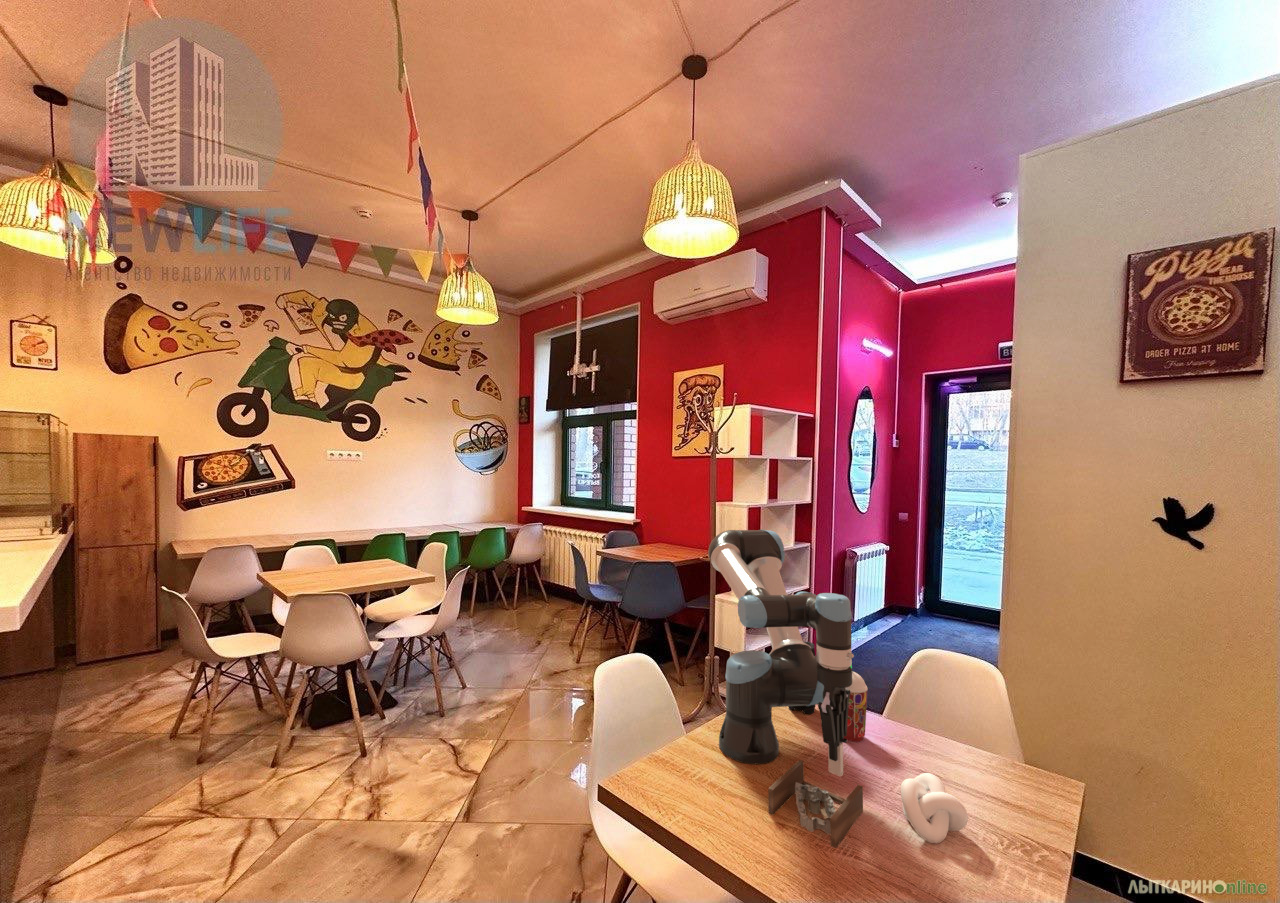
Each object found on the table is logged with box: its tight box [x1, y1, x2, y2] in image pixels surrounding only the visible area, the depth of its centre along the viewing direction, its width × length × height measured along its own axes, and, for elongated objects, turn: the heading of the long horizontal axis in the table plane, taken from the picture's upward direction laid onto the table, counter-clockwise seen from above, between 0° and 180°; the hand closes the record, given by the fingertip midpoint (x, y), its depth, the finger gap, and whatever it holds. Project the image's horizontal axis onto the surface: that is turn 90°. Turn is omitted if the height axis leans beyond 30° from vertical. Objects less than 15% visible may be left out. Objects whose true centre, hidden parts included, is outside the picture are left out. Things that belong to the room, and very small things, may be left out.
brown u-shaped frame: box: [768, 759, 864, 849], centre depth 102 cm, size 14×14×5 cm
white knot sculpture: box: [900, 772, 969, 844], centre depth 98 cm, size 11×12×9 cm
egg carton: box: [795, 782, 837, 835], centre depth 101 cm, size 11×8×4 cm
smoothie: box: [844, 664, 868, 743], centre depth 133 cm, size 8×8×20 cm
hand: (835, 772), depth 109 cm, fingers closed
